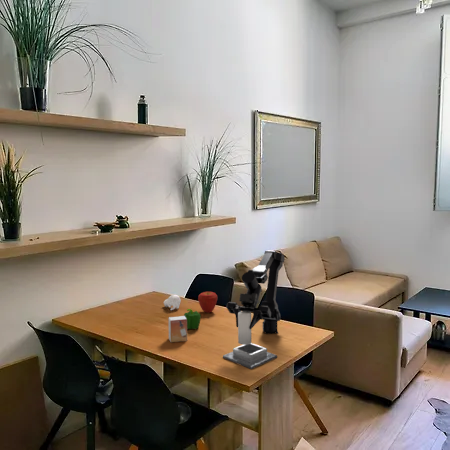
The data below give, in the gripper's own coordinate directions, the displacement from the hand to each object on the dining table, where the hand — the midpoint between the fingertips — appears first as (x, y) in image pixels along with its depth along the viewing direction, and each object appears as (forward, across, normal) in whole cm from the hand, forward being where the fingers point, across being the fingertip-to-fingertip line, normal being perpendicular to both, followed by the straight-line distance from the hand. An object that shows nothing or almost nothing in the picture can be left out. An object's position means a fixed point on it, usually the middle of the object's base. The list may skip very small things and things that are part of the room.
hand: (243, 327), depth 181 cm
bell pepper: (-8, -38, +27) cm, 47 cm away
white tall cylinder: (+4, 0, +6) cm, 7 cm away
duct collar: (+8, +2, +10) cm, 13 cm away
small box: (+4, -36, +15) cm, 39 cm away
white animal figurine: (-26, -66, +46) cm, 84 cm away
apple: (-28, -43, +46) cm, 69 cm away
